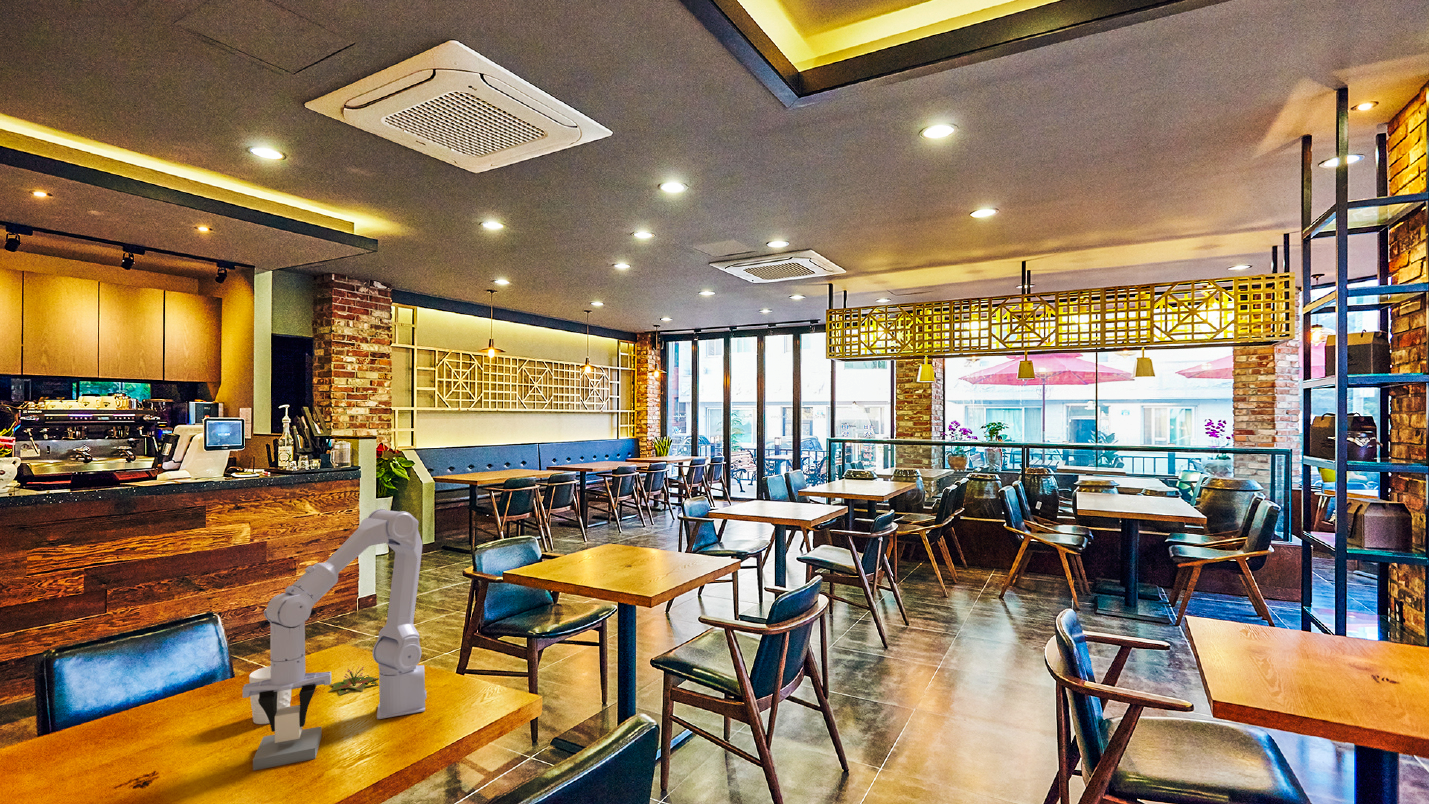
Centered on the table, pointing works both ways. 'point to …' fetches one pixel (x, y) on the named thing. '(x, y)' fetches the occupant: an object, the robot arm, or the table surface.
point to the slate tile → (287, 749)
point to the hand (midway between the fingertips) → (288, 727)
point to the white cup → (257, 710)
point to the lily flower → (352, 682)
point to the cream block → (287, 724)
